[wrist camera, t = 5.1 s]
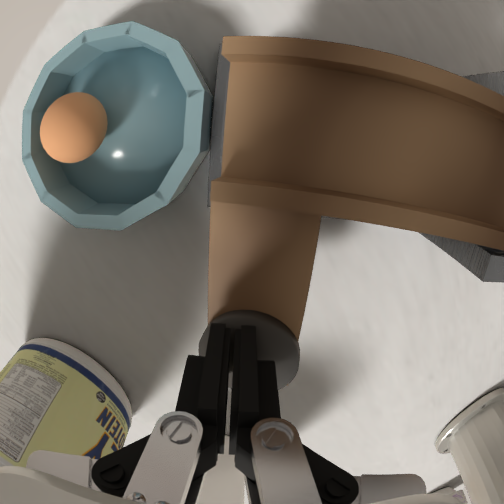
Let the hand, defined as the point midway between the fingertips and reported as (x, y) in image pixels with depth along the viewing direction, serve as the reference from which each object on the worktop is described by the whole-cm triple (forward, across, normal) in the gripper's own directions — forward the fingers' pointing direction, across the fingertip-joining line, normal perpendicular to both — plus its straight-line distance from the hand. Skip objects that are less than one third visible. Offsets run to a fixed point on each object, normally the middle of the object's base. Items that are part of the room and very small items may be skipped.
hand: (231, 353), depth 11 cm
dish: (+7, +7, -8) cm, 12 cm away
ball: (+4, +8, -8) cm, 12 cm away
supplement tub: (+7, +14, +13) cm, 20 cm away
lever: (0, -10, -4) cm, 10 cm away
